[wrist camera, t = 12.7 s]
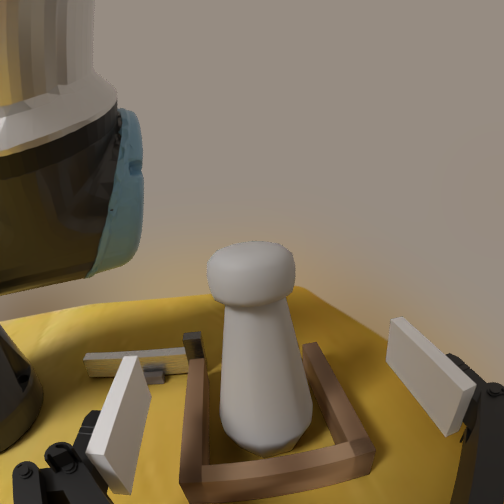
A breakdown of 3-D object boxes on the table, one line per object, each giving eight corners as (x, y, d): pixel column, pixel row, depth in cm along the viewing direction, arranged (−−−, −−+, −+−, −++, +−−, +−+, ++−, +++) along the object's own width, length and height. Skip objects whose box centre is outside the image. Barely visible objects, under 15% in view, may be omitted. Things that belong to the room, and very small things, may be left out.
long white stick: (89, 376, 26) (77, 346, 25) (93, 370, 27) (82, 340, 26) (207, 370, 27) (200, 338, 26) (207, 363, 28) (200, 331, 27)
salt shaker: (236, 405, 22) (209, 235, 19) (313, 407, 21) (309, 230, 18) (216, 463, 17) (168, 268, 13) (309, 469, 16) (308, 263, 12)
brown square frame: (113, 500, 13) (96, 478, 12) (148, 363, 28) (142, 341, 28) (369, 473, 14) (375, 450, 14) (305, 344, 30) (305, 321, 29)
